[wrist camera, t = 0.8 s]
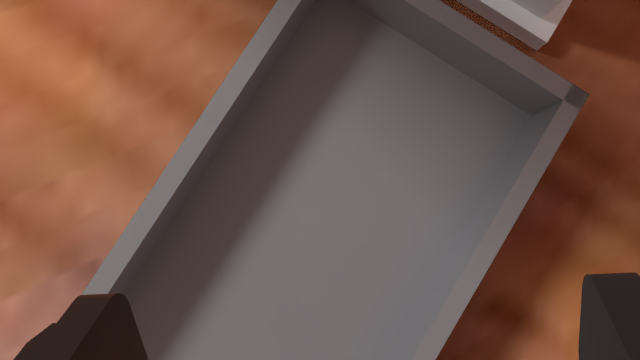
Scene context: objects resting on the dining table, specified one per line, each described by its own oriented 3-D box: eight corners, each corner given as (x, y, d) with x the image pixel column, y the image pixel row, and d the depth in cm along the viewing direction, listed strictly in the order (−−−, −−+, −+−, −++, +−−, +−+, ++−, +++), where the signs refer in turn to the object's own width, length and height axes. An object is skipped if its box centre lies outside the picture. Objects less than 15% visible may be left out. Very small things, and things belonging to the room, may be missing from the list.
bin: (225, 662, 32) (214, 740, 27) (-30, 501, 32) (-88, 549, 27) (547, 114, 36) (589, 94, 31) (319, -29, 36) (325, -72, 31)
